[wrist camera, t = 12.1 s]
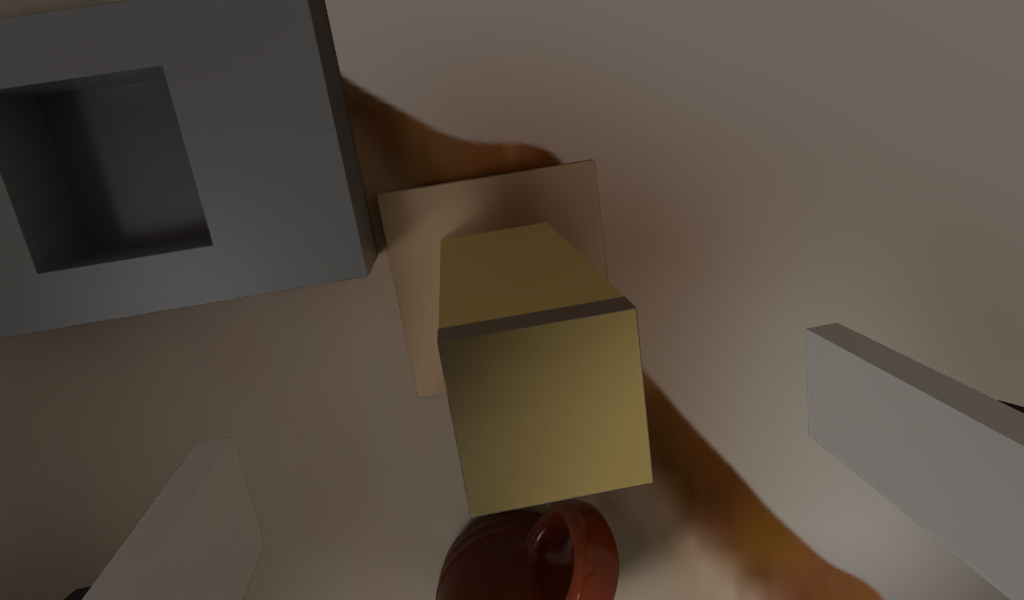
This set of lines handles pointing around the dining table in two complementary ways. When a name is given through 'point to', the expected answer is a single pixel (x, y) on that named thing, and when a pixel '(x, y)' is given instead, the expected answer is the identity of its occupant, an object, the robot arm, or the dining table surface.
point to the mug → (533, 557)
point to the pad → (471, 210)
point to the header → (172, 159)
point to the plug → (539, 371)
